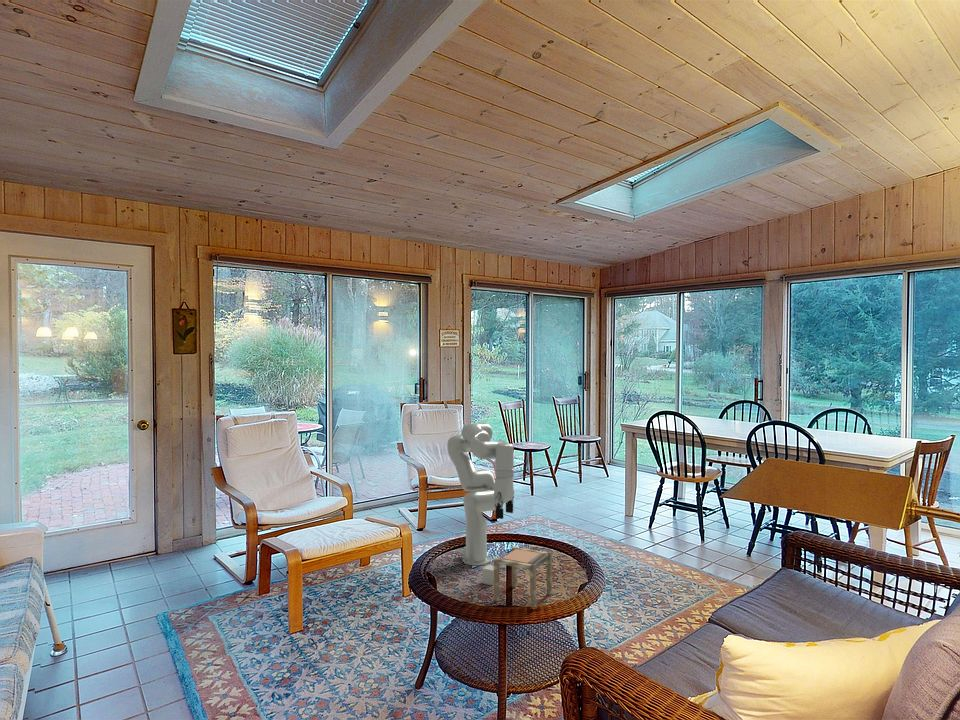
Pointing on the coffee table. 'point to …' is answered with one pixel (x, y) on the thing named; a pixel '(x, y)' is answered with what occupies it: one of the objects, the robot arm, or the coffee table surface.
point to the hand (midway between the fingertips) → (504, 515)
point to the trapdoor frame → (532, 568)
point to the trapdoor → (523, 556)
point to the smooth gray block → (488, 574)
